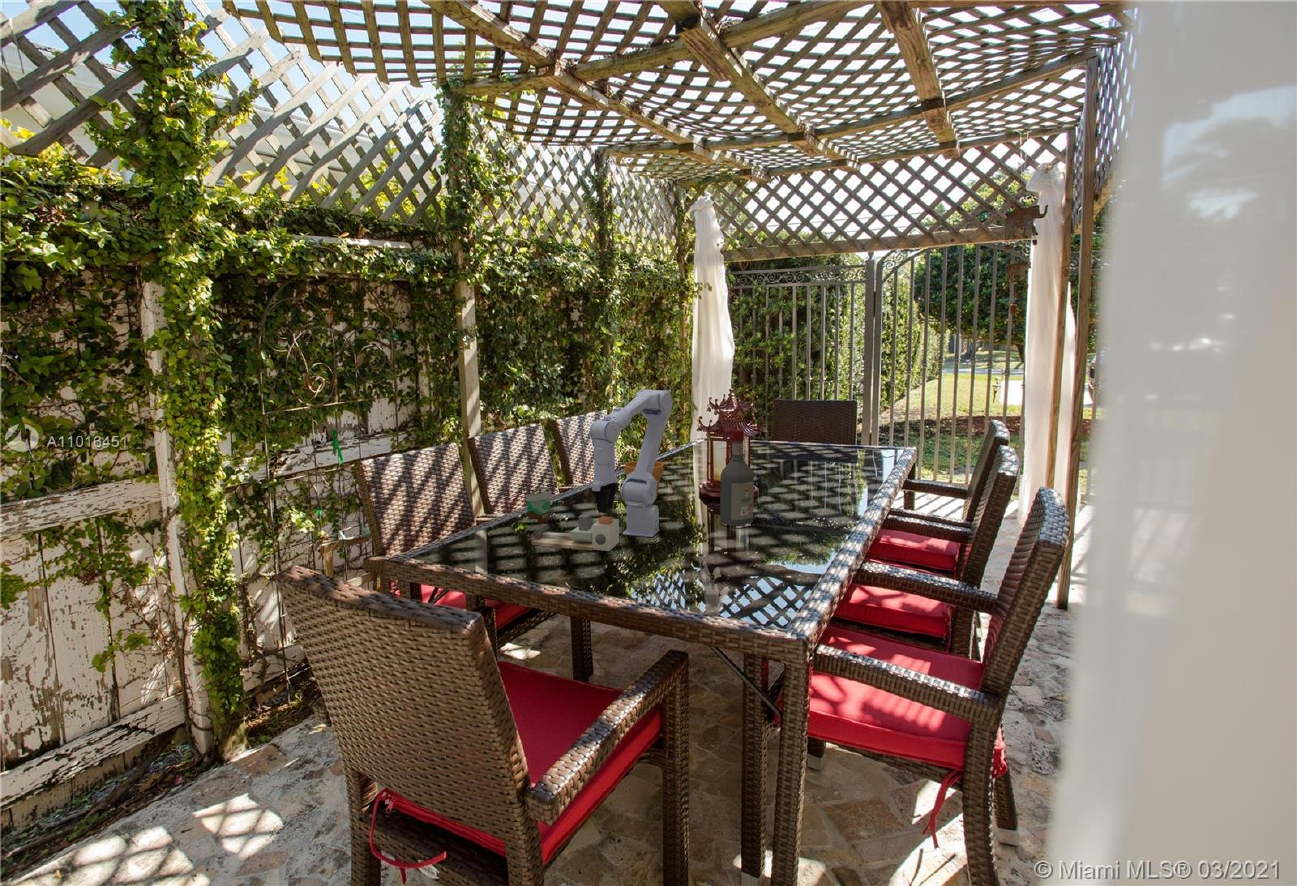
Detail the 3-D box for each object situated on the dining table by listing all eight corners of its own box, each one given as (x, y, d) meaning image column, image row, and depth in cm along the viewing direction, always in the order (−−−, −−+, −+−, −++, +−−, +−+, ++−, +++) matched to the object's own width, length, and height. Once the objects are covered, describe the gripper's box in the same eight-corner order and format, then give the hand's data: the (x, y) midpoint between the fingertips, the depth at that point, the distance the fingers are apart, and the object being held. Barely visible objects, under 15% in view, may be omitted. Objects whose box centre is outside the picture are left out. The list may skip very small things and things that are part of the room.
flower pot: (621, 502, 239) (620, 467, 237) (629, 493, 253) (628, 459, 251) (660, 504, 237) (660, 468, 235) (666, 494, 250) (666, 460, 248)
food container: (545, 526, 210) (544, 495, 208) (526, 525, 211) (525, 494, 210) (558, 516, 222) (557, 486, 220) (540, 515, 223) (539, 486, 221)
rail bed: (604, 540, 196) (603, 526, 195) (591, 550, 186) (591, 536, 186) (546, 534, 201) (545, 522, 200) (531, 544, 192) (530, 531, 191)
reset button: (612, 524, 190) (612, 517, 190) (608, 527, 187) (608, 519, 187) (602, 523, 191) (602, 516, 191) (598, 526, 188) (598, 519, 188)
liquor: (757, 525, 210) (759, 430, 205) (735, 530, 205) (736, 433, 200) (737, 518, 217) (739, 427, 213) (716, 523, 212) (717, 429, 208)
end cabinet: (618, 542, 193) (618, 519, 192) (608, 551, 185) (608, 527, 184) (602, 541, 195) (602, 517, 194) (592, 549, 187) (591, 525, 186)
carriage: (599, 536, 194) (599, 513, 193) (590, 543, 188) (590, 519, 186) (580, 534, 196) (579, 511, 195) (570, 541, 189) (570, 517, 188)
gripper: (609, 468, 178) (609, 518, 180) (626, 459, 192) (627, 505, 194) (584, 467, 180) (585, 516, 183) (603, 458, 194) (604, 503, 196)
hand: (605, 510), depth 188 cm, fingers open, 4 cm apart
